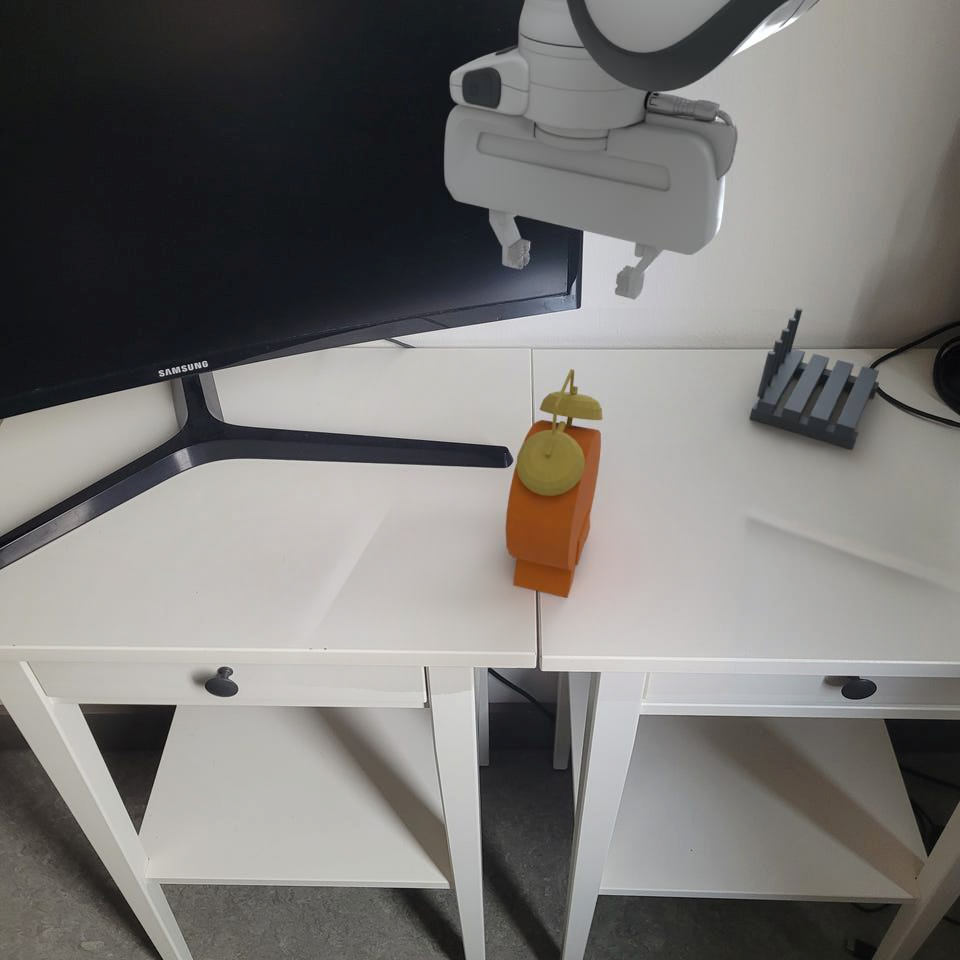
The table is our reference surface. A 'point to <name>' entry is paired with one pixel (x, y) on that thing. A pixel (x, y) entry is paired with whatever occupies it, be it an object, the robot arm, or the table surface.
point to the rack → (811, 392)
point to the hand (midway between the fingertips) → (570, 279)
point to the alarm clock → (554, 493)
